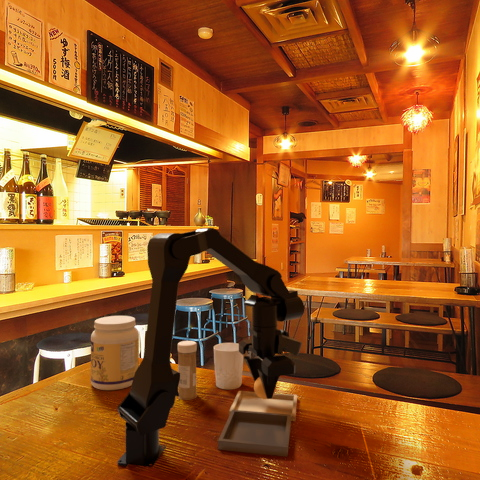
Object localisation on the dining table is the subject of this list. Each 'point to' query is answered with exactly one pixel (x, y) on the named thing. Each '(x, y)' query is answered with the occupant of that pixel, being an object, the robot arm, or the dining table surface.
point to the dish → (256, 433)
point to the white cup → (228, 365)
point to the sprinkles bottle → (187, 370)
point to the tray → (265, 403)
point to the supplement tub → (114, 352)
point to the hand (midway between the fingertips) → (264, 393)
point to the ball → (260, 389)
